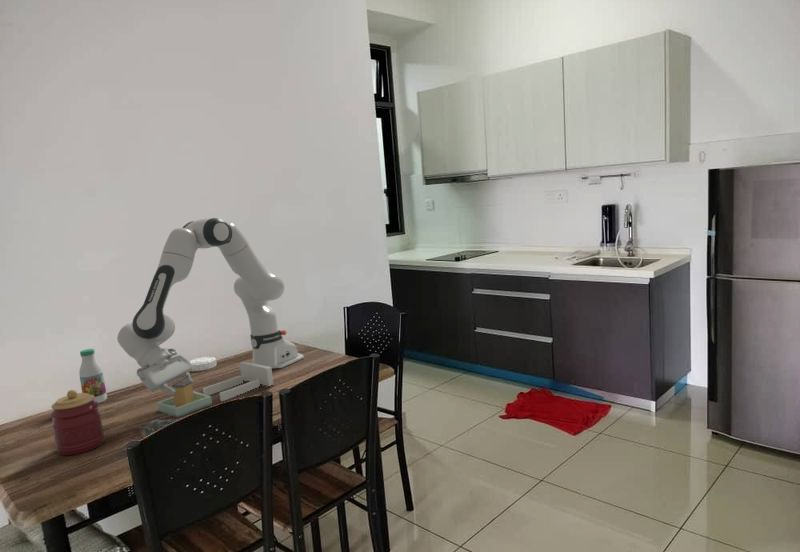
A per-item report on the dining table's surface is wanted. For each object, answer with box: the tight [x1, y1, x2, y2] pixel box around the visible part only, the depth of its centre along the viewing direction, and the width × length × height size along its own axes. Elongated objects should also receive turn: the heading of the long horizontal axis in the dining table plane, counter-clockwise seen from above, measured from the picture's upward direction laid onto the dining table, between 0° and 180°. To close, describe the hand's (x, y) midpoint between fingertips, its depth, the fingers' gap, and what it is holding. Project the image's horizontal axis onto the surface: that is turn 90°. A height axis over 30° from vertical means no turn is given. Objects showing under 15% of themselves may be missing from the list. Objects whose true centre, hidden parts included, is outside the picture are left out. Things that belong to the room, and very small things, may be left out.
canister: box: [49, 389, 106, 456], centre depth 169 cm, size 13×13×18 cm
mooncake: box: [188, 356, 217, 372], centre depth 247 cm, size 12×12×4 cm
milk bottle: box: [78, 348, 108, 404], centre depth 211 cm, size 8×8×20 cm
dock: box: [202, 361, 275, 402], centre depth 210 cm, size 20×18×7 cm
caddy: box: [171, 380, 194, 407], centre depth 195 cm, size 4×4×8 cm
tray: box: [157, 390, 213, 419], centre depth 196 cm, size 13×13×3 cm
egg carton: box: [137, 417, 181, 439], centre depth 174 cm, size 11×8×4 cm
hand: (183, 388), depth 195 cm, fingers open, 8 cm apart
